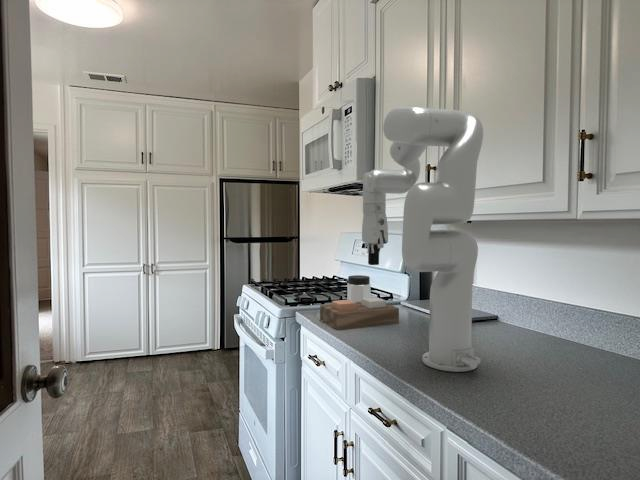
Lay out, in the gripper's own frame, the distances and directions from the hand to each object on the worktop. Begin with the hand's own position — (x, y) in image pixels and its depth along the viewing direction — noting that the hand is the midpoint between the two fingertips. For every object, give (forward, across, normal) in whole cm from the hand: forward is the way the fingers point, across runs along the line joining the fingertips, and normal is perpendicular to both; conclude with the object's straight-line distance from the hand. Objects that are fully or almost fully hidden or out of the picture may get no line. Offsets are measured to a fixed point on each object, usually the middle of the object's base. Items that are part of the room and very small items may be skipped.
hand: (373, 264), depth 143 cm
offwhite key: (+15, 0, 0) cm, 15 cm away
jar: (+19, +19, -4) cm, 27 cm away
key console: (+19, 0, +6) cm, 20 cm away
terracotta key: (+15, 0, +11) cm, 19 cm away
